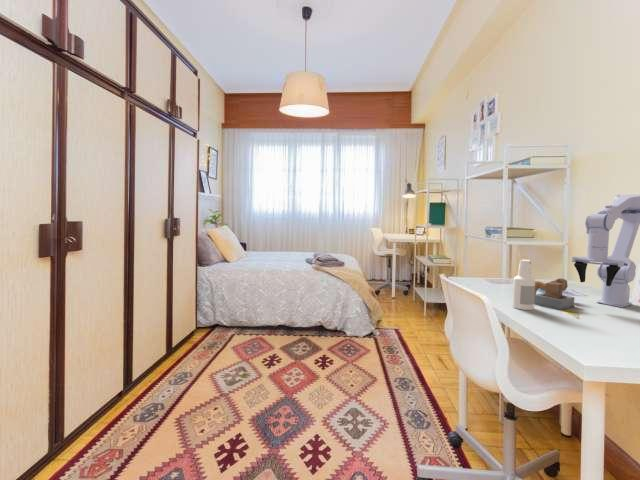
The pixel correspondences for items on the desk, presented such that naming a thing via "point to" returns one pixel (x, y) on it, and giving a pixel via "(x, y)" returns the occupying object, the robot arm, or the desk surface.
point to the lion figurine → (543, 285)
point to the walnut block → (554, 290)
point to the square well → (554, 301)
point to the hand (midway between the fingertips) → (595, 283)
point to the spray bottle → (524, 287)
